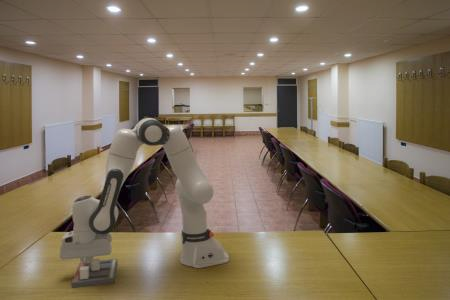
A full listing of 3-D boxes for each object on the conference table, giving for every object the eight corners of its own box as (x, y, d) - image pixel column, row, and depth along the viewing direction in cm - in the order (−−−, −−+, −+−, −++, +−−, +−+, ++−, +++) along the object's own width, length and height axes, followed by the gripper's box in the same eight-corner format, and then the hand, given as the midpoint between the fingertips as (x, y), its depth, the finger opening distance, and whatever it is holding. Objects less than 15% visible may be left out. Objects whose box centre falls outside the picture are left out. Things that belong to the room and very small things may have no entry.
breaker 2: (93, 261, 162) (93, 252, 162) (92, 264, 159) (92, 255, 159) (86, 262, 162) (85, 253, 161) (85, 264, 159) (84, 256, 158)
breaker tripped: (100, 267, 156) (99, 258, 156) (99, 270, 153) (98, 261, 153) (92, 267, 156) (92, 258, 155) (91, 270, 153) (91, 261, 152)
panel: (117, 262, 166) (117, 258, 166) (114, 283, 147) (113, 278, 147) (80, 266, 163) (79, 262, 162) (71, 287, 143) (71, 282, 143)
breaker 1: (89, 275, 149) (88, 265, 148) (88, 278, 146) (87, 269, 145) (81, 276, 148) (80, 266, 148) (80, 279, 145) (79, 269, 145)
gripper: (111, 230, 157) (113, 260, 159) (61, 234, 153) (63, 266, 155) (110, 234, 151) (112, 266, 153) (57, 239, 147) (60, 272, 148)
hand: (87, 266), depth 154 cm, fingers closed
